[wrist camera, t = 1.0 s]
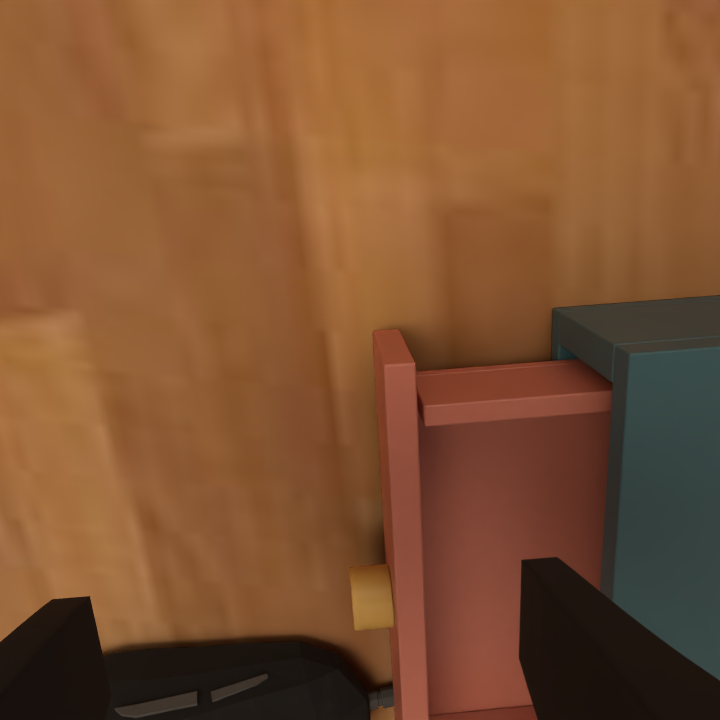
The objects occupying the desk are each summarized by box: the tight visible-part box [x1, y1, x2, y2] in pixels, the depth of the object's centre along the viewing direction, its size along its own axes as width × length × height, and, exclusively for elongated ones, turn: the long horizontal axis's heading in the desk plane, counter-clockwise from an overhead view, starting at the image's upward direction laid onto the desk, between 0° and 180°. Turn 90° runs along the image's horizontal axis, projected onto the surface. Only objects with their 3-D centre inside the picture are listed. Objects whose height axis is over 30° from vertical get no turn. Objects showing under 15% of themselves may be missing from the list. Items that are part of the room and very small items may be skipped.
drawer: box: [350, 329, 613, 720], centre depth 19 cm, size 16×12×3 cm
